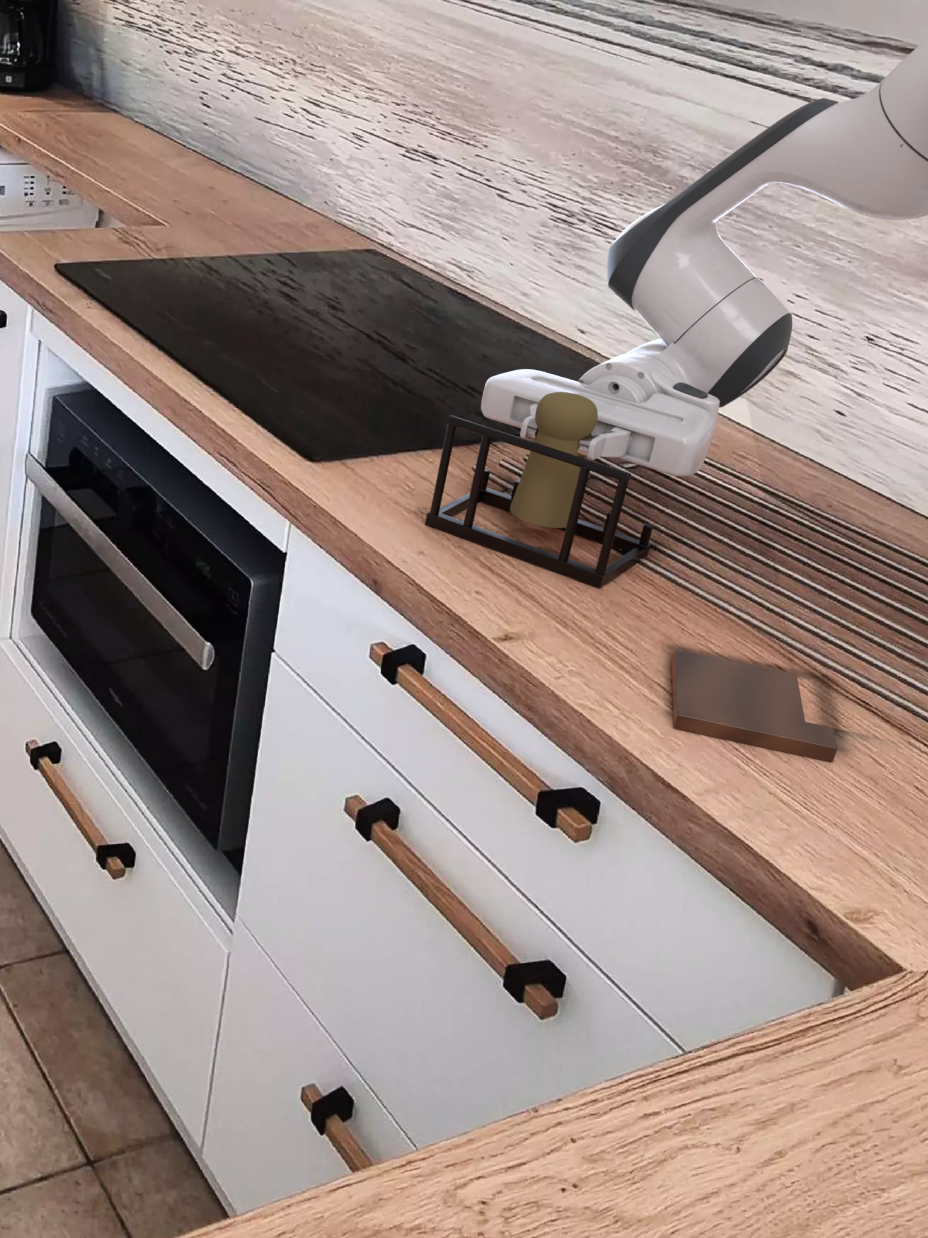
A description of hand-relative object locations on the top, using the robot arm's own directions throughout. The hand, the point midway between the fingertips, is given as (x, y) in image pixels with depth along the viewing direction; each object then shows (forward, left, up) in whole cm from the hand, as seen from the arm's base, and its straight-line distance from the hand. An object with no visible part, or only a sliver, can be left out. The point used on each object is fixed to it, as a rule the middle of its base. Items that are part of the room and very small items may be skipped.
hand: (557, 440), depth 144 cm
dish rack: (0, -1, -10) cm, 10 cm away
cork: (0, -1, -7) cm, 7 cm away
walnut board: (-17, +24, -10) cm, 31 cm away
